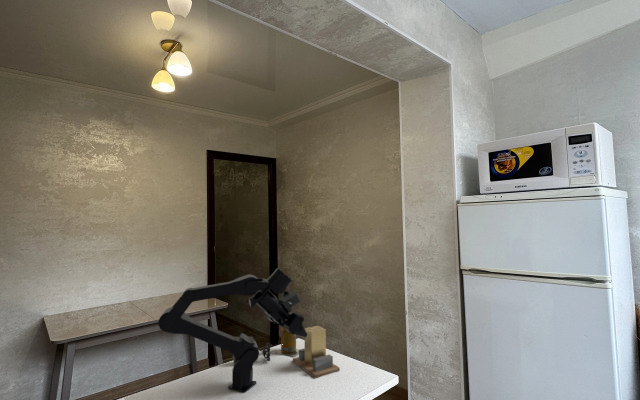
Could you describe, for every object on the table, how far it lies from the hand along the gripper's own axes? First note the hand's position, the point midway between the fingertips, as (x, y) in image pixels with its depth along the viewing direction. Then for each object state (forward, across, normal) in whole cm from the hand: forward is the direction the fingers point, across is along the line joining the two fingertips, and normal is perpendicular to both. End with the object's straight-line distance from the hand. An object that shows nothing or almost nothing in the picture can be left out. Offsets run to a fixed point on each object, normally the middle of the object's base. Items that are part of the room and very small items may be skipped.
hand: (299, 332), depth 112 cm
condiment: (+14, +18, +6) cm, 23 cm away
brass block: (+14, +2, +4) cm, 15 cm away
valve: (+2, +17, +17) cm, 25 cm away
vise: (+15, +2, +4) cm, 15 cm away
